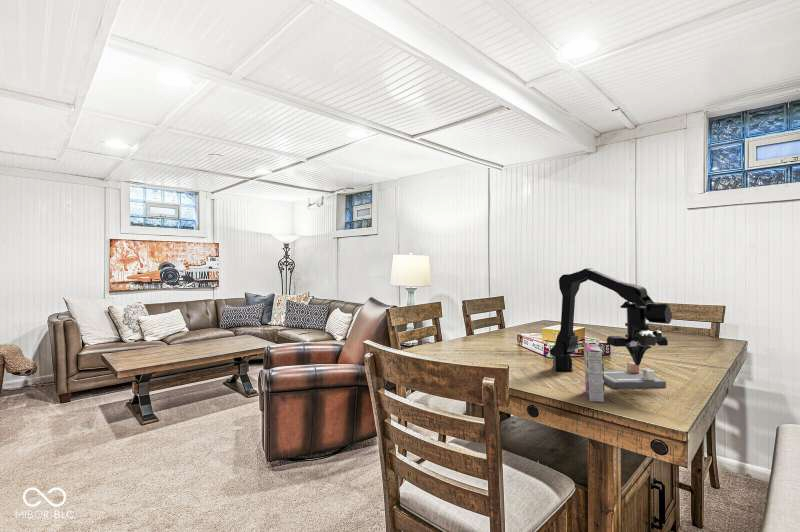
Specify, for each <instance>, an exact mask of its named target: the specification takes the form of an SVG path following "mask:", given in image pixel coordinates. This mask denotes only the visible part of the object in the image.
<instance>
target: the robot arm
mask: <svg viewBox="0 0 800 532" xmlns="http://www.w3.org/2000/svg"><path fill="white" fill-rule="evenodd" d="M587 281H591V282H594V283H595V284H597V285H600V286H602V287H604V288H607V289H609V290H611V291H613V292H615V293H616V294H617V295H618V296H620V297H621V298H622V299H624V300H625V301H624V302H623V303H622V304H621V305H620V308H621V309H626V322H625V324H624V326H625V327H626V328H627V334H625V335H624V336H625V337H623V336H619V335H609V336H608V337H607V338H606V344H607V345H610V346H612V347H615V348H616V347H619V348H620V347H625V348H626V350H627V351H628V352H629V354H630V356H631V359H632V362H634V363H635V365H639V366H640V365H641V362H642V359H643V357H644V355H645V353H646V351H648V349H651V348H652V346H656V345H658V346H660V347H661V346H662V347H664V346H666V347H667V346H669V340H668V338H667V337H666V336H662V331H660V330H653V331H652V330H651V331H650V329H649V325H648V324H646V323H647V321H648V322H649V323H651V324H652V323H653V324H666V325H669V324H671V322H672V320H673V319H672V316H673V314H672V312H671V311H672V310H671V308H670V307H669V306H670V305H669V303H655V302H654V301H653V300H652V298H651V297H650V296H649V294H648V291H647V288H646V287H644V286H642V285H638V284H635V283H627V282H624V281H622V280H618V279H616V278H614V277H611V276H609V275H607V274H604V273H602V272H599V271H597V270H595V269H594V268H583V269H582V270H579V271H576V272H573V273H569V274H568V273H567V274H562V275H561V276H560V277H559V278H558V286H559V290H560V291H559V292H560V293H561V295H562V299H561V300H562V301H561V317H560V328H559V329H560V330H559V332H558V334H557V335H556V339H555V343H554V346H552V348H551V349H550V350H549V353H550V356H552V366H551V369H552V370H554V371H555V372H560V373H561V372H563V373H564V372H573V359H572V358H571V355H573V353H574V351H576V349H577V346H579V343H578V340H579V335H576V334H575V333H574V322H575V320H574V319H575V305H576V303H575V302H576V296H577V294H578V292H579V290H580V286H581V284H582V283H585V282H587Z"/></svg>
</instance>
